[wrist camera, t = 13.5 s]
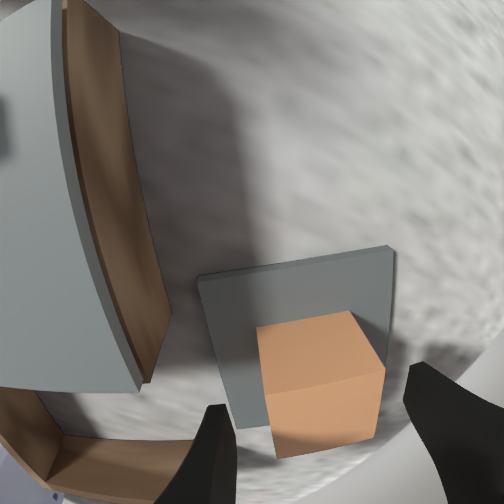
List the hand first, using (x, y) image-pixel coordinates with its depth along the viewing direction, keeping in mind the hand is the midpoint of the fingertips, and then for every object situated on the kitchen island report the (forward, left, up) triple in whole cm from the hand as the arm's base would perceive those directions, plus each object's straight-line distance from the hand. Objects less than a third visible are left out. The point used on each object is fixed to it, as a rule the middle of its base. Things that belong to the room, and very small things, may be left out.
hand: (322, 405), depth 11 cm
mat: (0, 0, -4) cm, 4 cm away
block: (0, 0, -3) cm, 3 cm away
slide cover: (+9, +11, +1) cm, 15 cm away
